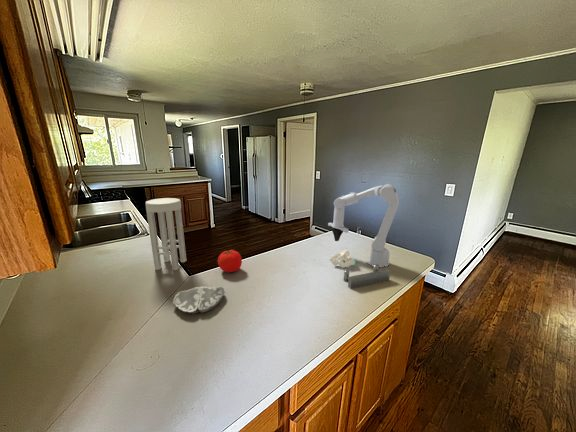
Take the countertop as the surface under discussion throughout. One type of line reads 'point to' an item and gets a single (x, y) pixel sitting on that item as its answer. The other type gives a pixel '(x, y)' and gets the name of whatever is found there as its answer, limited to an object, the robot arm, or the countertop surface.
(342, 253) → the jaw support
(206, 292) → the brain slice
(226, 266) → the tomato
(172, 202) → the stool
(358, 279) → the housing bracket
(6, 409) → the countertop surface
